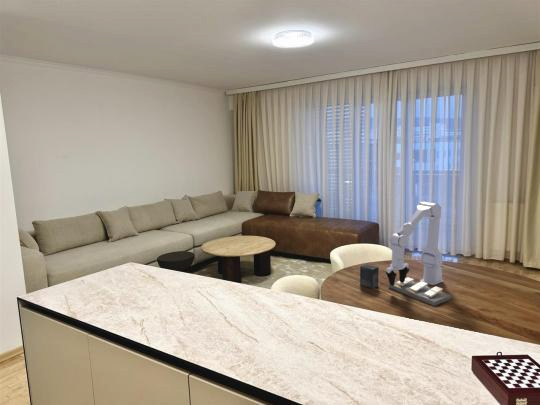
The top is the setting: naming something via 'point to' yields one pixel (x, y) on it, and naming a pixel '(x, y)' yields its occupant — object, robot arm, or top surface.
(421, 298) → the switch panel
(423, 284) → the rocker
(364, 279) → the box
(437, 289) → the rocker
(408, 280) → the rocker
